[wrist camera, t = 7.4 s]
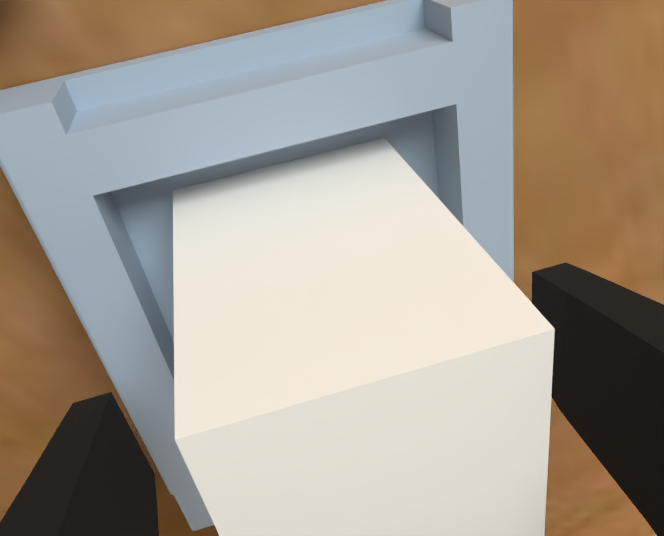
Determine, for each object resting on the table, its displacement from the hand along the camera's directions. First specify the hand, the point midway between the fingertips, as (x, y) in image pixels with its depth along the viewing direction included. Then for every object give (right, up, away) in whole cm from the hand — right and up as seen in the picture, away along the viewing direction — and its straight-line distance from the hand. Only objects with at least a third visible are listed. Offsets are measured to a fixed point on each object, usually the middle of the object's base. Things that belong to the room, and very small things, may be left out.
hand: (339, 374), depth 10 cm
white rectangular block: (-1, +2, +2) cm, 3 cm away
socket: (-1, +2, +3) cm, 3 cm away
